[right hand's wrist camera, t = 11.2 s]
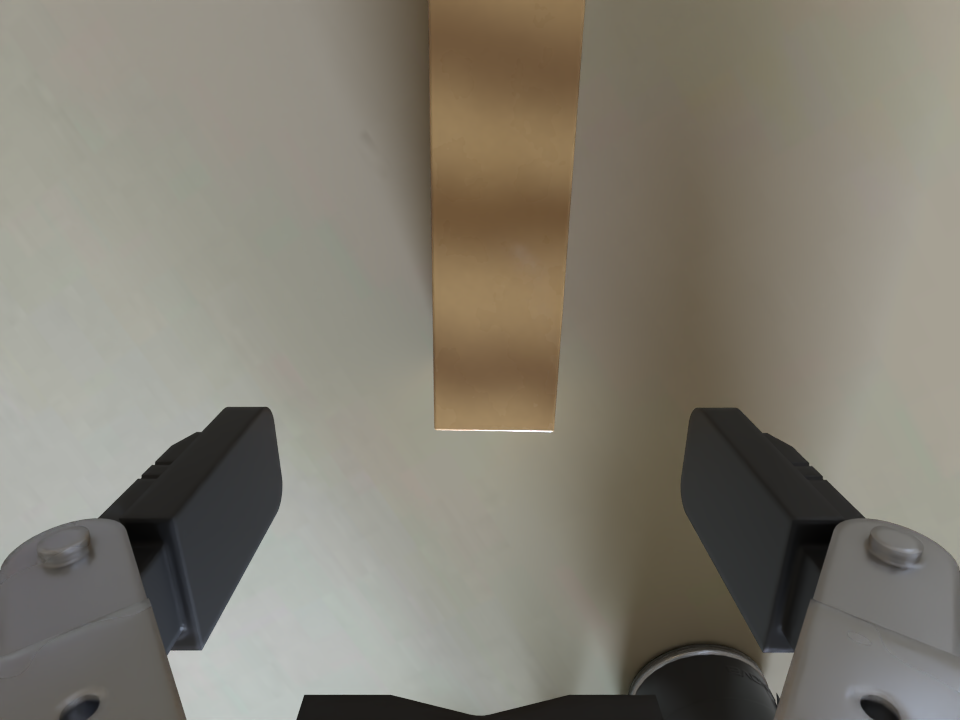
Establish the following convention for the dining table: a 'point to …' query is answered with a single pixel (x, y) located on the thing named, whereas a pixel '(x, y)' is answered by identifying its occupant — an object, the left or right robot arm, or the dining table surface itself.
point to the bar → (500, 205)
